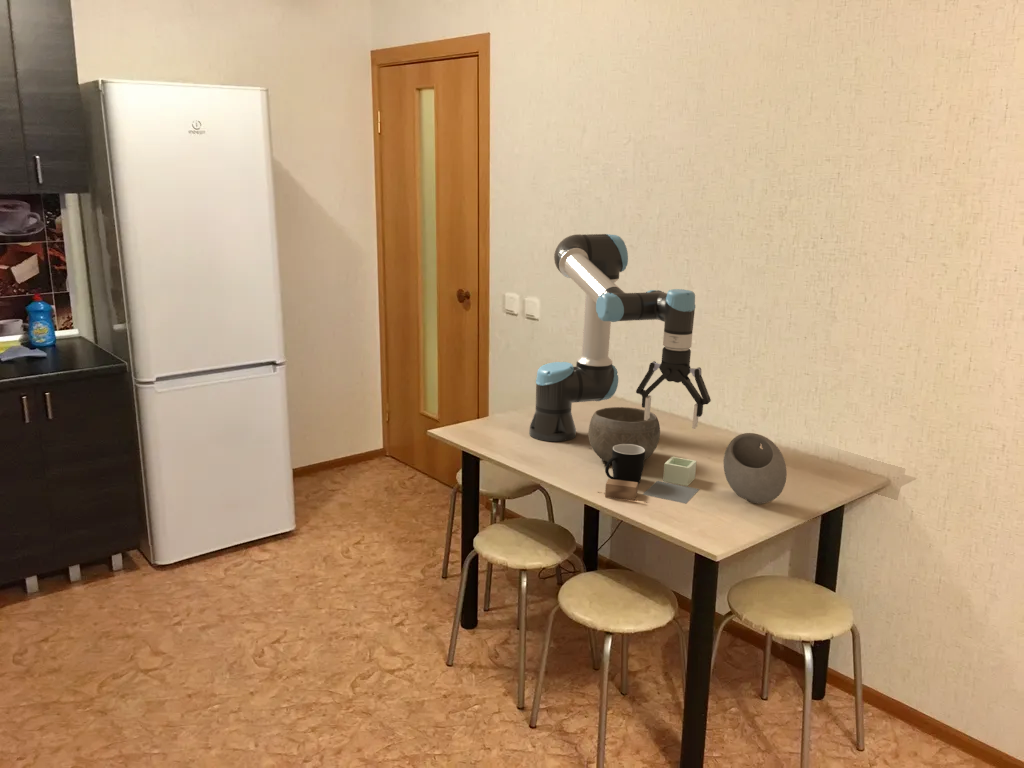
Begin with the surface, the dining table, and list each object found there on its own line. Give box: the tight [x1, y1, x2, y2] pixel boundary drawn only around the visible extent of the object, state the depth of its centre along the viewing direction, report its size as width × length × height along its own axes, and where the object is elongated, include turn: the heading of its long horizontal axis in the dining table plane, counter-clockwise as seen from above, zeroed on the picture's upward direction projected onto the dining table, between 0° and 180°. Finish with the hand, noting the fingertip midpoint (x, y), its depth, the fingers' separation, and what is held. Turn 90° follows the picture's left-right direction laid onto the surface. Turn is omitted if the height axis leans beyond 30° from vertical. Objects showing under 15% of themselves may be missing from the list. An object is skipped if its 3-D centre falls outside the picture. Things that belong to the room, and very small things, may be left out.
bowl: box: [587, 406, 661, 463], centre depth 252 cm, size 21×21×15 cm
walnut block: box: [604, 478, 639, 502], centre depth 226 cm, size 8×4×4 cm, turn 74°
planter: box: [722, 432, 788, 504], centre depth 223 cm, size 18×7×19 cm, turn 42°
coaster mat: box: [642, 480, 700, 504], centre depth 229 cm, size 12×12×1 cm
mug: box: [604, 444, 646, 484], centre depth 234 cm, size 12×9×10 cm
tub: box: [662, 456, 697, 487], centre depth 237 cm, size 7×7×6 cm
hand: (670, 423), depth 233 cm, fingers open, 13 cm apart
